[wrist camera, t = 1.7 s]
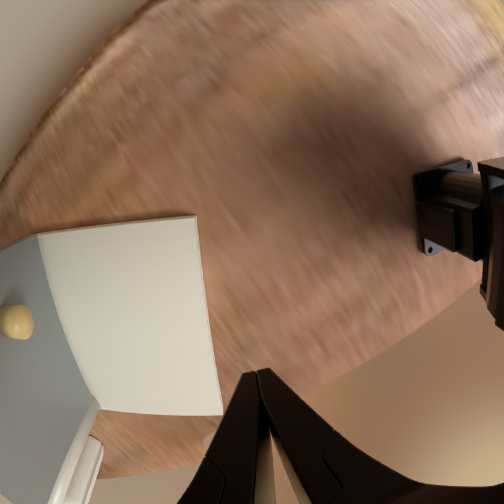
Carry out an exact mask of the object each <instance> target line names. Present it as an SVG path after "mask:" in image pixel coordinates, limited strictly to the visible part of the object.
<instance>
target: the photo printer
mask: <svg viewBox="0 0 504 504" xmlns="http://www.w3.org/2000/svg"><path fill="white" fill-rule="evenodd" d="M103 451H104V446H103V445H102V444H101V442H100V441H98V440H97V439H96V438H94V437H92V436H90V435H89V436H88V438H87V440H86V443H85V445H84V448H83V450H82V453H81V455H80V458H79V460H78V463H77V465H76V468H75V471H74V473H73V476H72V479H71V481H70V484H69V487H68V490H67V493H66V495H65V498H64V501H63V504H88V502H89V499H90V496H91V493H92V490H93V487H94V484H95V481H96V477H97V474H98V471H99V467H100V464H101V461H102V457H103Z"/></svg>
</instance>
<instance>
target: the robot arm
mask: <svg viewBox="0 0 504 504" xmlns="http://www.w3.org/2000/svg"><path fill="white" fill-rule="evenodd" d="M477 163H478V171H480V174H474V173H473V167H472V163H471V161H470V160H465V159H464V160H461V161H457V162H453V163H450V164H446V165H442V166H439V167H435V168H432V169H428V170H425V171H421V172H417V173H415V174H414V175H413V186H414V191H415V197H416V202H417V203H416V208H417V215H418V222H419V229H420V235H421V238H422V247H423V253H424V254H425V255H427V256H432V255H434V254H436V253H438V252H441V251H443V250H445V249H447V250H449V251H451V252H453V253H454V252H457V253H459V254H461V255H463V256H465V257H467V258H469V259H470V260H472V261H474V262H477V261H479V260H481V261H482V262H483V272H482V284H481V285H480V294H481V295H482V297H483V298H484V300H485V301H486V303H487V308H488V310H489V311H490V313H491V314H492V316H493V317H494V318H495V325H496V326H497V327H498V328H500V329H501V330H503V331H504V157H500V158H495V159H490V160H484V161H479V162H477ZM419 177H420V182H418V178H419ZM429 247H430V250H429V251H428V249H429ZM269 428H270V429H269ZM270 432H271V434H270ZM271 435H272V438H273V441H274V444H275V446H276V449H277V451H278V454H279V456H280V458H281V461H282V463H283V466H284V468H285V471H286V473H287V476H288V478H289V480H290V483H291V485H292V487H293V490H294V492H295V495H296V497H297V499H298V502H299V504H504V483H501V484H498V485H494V486H485V487H468V486H444V485H432V484H425V483H421V482H417V481H414V480H412V479H410V478H408V477H405V476H404V475H402V474H400V473H398V472H396V471H395V470H393V469H391V468H389V467H387V466H386V465H384V464H382V463H380V462H379V461H377V460H375V459H374V458H372V457H371V456H369V455H367V454H366V453H364V452H363V451H361V450H360V449H358V448H357V447H356V446H354V445H353V444H352V443H350V442H349V441H348V440H347V439H345V438H344V437H343V436H342V435H341V434H340V433H339V432H337V431H336V430H334V429H333V427H331V426H330V425H329V424H328V423H327V422H326V421H325V420H324V419H322V417H321V416H319V415H318V414H317V413H316V412H315V411H314V410H313V409H312V408H311V407H310V406H309V405H307V404H306V403H305V402H304V401H303V400H302V399H301V398H300V397H299V396H298V395H297V394H296V393H295V392H294V391H293V390H292V389H291V388H290V387H289V386H288V385H287V384H286V383H285V382H284V381H282V380H281V379H280V378H279V377H278V376H277V375H276V374H275V373H274V372H273V371H272V370H271V369H270V368H264V369H260V370H257V371H256V372H255V371H250V372H246V373H243V374H242V375H241V377H240V379H239V381H238V384H237V386H236V388H235V390H234V393H233V395H232V397H231V399H230V402H229V404H228V406H227V408H226V411H225V413H224V415H223V417H222V420H221V422H220V424H219V426H218V428H217V430H216V433H215V435H214V437H213V439H212V442H211V443H210V446H209V448H208V450H207V452H206V454H205V457H204V458H203V460H202V462H201V464H200V466H199V468H198V471H197V472H196V474H195V476H194V478H193V480H192V482H191V483H190V485H189V486H188V488H187V489H186V491H185V492H184V494H183V495H182V497H181V498H180V500H179V501H178V502H177V504H276V493H275V481H274V468H273V455H272V443H271Z"/></svg>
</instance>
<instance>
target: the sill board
mask: <svg viewBox="0 0 504 504" xmlns="http://www.w3.org/2000/svg"><path fill="white" fill-rule="evenodd" d="M36 234H37V237H38V242H39V247H40V251H41V256H42V260H43V264H44V268H45V272H46V276H47V280H48V283H49V287H50V291H51V294H52V297H53V301H54V304H55V307H56V310H57V313H58V316H59V319H60V322H61V325H62V328H63V330H64V333H65V336H66V338H67V341H68V344H69V346H70V349H71V351H72V354H73V356H74V358H75V361H76V363H77V365H78V368H79V370H80V372H81V374H82V376H83V379H84V381H85V383H86V385H87V387H88V389H89V391H90V393H91V395H92V397H93V399H95V400H96V401H97V402H98V403H99V404H100V409H104V410H112V411H121V412H131V413H143V414H159V415H223V404H222V398H221V393H220V387H219V381H218V375H217V369H216V363H215V357H214V351H213V344H212V338H211V331H210V324H209V317H208V310H207V303H206V295H205V287H204V279H203V271H202V263H201V254H200V245H199V236H198V226H197V216H196V215H190V216H179V217H168V218H158V219H148V220H138V221H129V222H120V223H111V224H103V225H95V226H87V227H79V228H71V229H64V230H57V231H50V232H43V233H36ZM30 235H32V234H30Z"/></svg>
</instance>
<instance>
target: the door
mask: <svg viewBox="0 0 504 504" xmlns="http://www.w3.org/2000/svg"><path fill="white" fill-rule="evenodd" d="M99 410H100V404H99V403H98V402H97V401H96V400H95V399H93V397H92V395H91V393H90V391H89V389H88V387H87V385H86V383H85V381H84V379H83V376H82V374H81V372H80V370H79V368H78V365H77V363H76V361H75V358H74V356H73V354H72V351H71V349H70V346H69V344H68V341H67V338H66V336H65V333H64V330H63V328H62V325H61V322H60V319H59V316H58V313H57V310H56V307H55V304H54V301H53V297H52V294H51V291H50V287H49V283H48V280H47V276H46V272H45V268H44V264H43V260H42V256H41V251H40V247H39V242H38V237H37V234H32V235H26V236H24V237H22V238H20V239H17V240H15V241H13V242H11V243H9V244H7V245H5V246H3V247H1V248H0V493H1V494H2V495H3V496H4V497H6V498H7V499H8V500H9V501H10V502H12V503H13V504H63V501H64V498H65V495H66V493H67V490H68V487H69V484H70V481H71V479H72V476H73V473H74V471H75V468H76V465H77V463H78V460H79V458H80V455H81V453H82V450H83V448H84V445H85V443H86V440H87V438H88V436H89V433H90V431H91V428H92V426H93V424H94V422H95V419H96V417H97V415H98V412H99Z"/></svg>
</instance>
